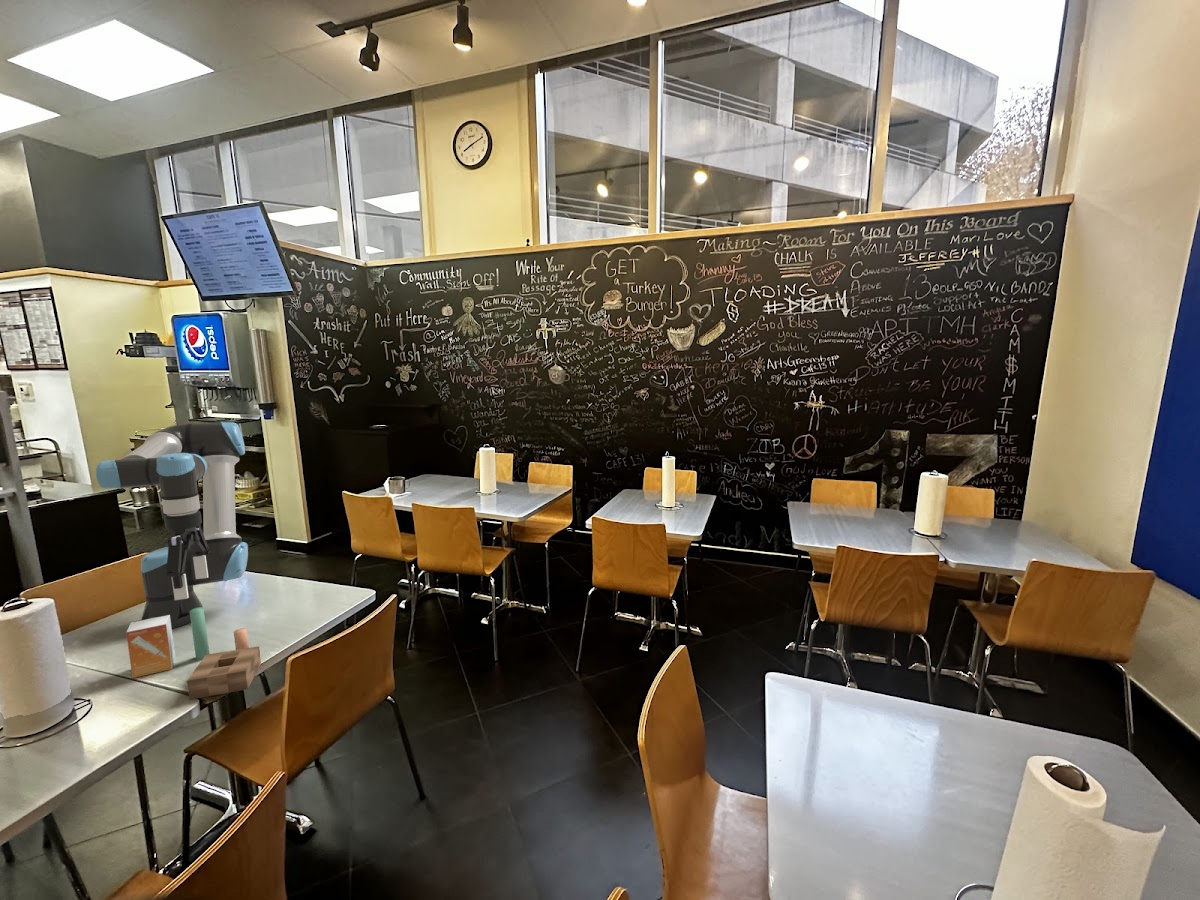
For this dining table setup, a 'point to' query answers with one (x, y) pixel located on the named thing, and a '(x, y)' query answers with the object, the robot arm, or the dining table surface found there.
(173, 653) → the small box
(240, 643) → the short dowel
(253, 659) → the collar block
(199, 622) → the long dowel
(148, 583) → the robot arm
